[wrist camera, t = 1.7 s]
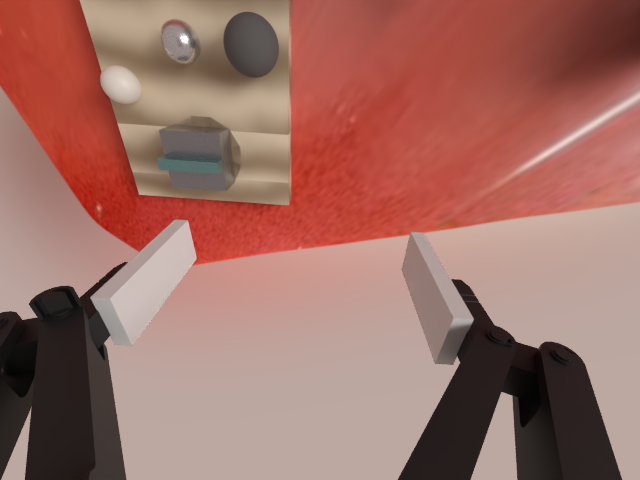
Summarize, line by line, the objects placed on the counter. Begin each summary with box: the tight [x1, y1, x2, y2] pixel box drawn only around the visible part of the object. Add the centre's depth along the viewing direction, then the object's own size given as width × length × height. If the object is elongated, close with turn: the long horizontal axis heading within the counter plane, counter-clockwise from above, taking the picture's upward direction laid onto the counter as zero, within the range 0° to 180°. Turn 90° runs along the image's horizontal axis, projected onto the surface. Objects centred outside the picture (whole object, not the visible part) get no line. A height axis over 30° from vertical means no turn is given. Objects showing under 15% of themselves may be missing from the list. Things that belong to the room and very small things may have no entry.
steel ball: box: [160, 19, 201, 64], centre depth 26 cm, size 4×4×4 cm
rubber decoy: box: [223, 12, 279, 78], centre depth 26 cm, size 5×5×5 cm
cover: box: [157, 125, 235, 191], centre depth 31 cm, size 6×6×5 cm
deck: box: [80, 0, 291, 205], centre depth 32 cm, size 22×20×2 cm
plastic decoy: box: [100, 65, 142, 104], centre depth 28 cm, size 4×4×4 cm
